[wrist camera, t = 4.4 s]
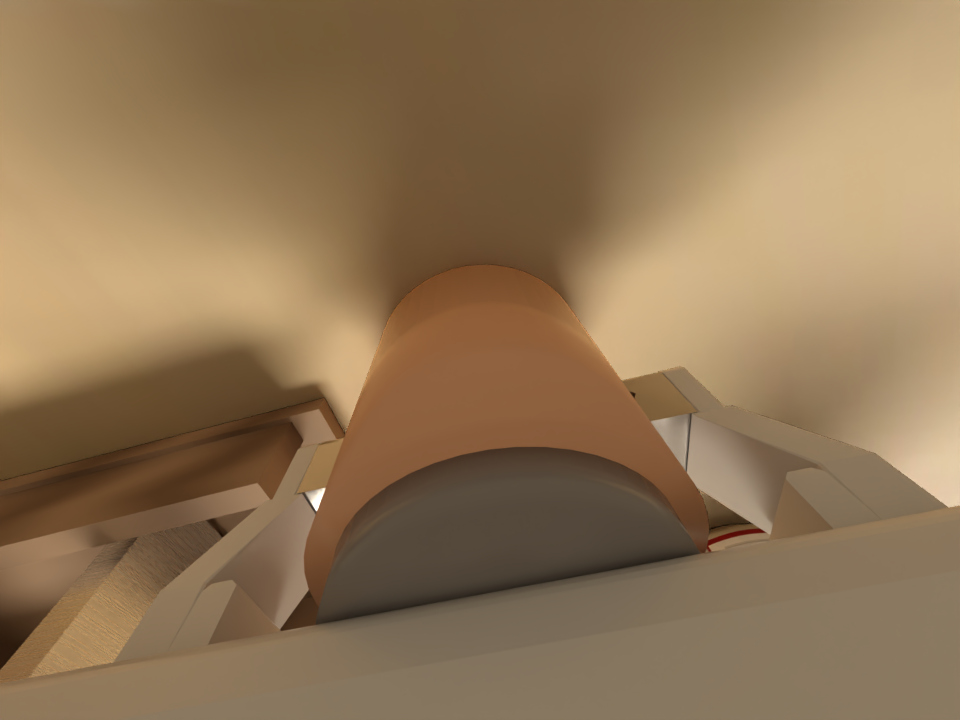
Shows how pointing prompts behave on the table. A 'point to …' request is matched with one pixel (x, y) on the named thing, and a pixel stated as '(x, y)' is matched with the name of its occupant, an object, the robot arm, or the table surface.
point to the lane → (142, 505)
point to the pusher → (108, 601)
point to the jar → (491, 457)
